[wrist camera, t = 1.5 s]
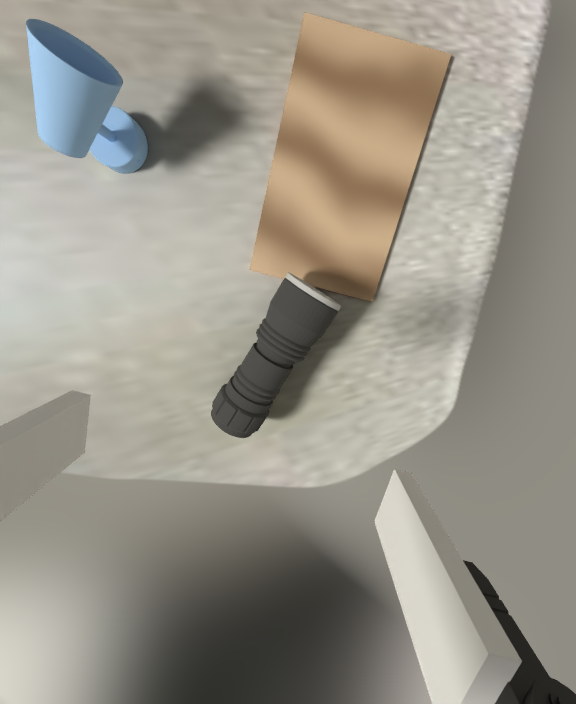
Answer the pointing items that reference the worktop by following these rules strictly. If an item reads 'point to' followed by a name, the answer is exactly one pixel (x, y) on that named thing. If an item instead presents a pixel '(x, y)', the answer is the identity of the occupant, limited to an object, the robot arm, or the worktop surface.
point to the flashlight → (273, 355)
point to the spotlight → (81, 101)
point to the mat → (345, 155)
